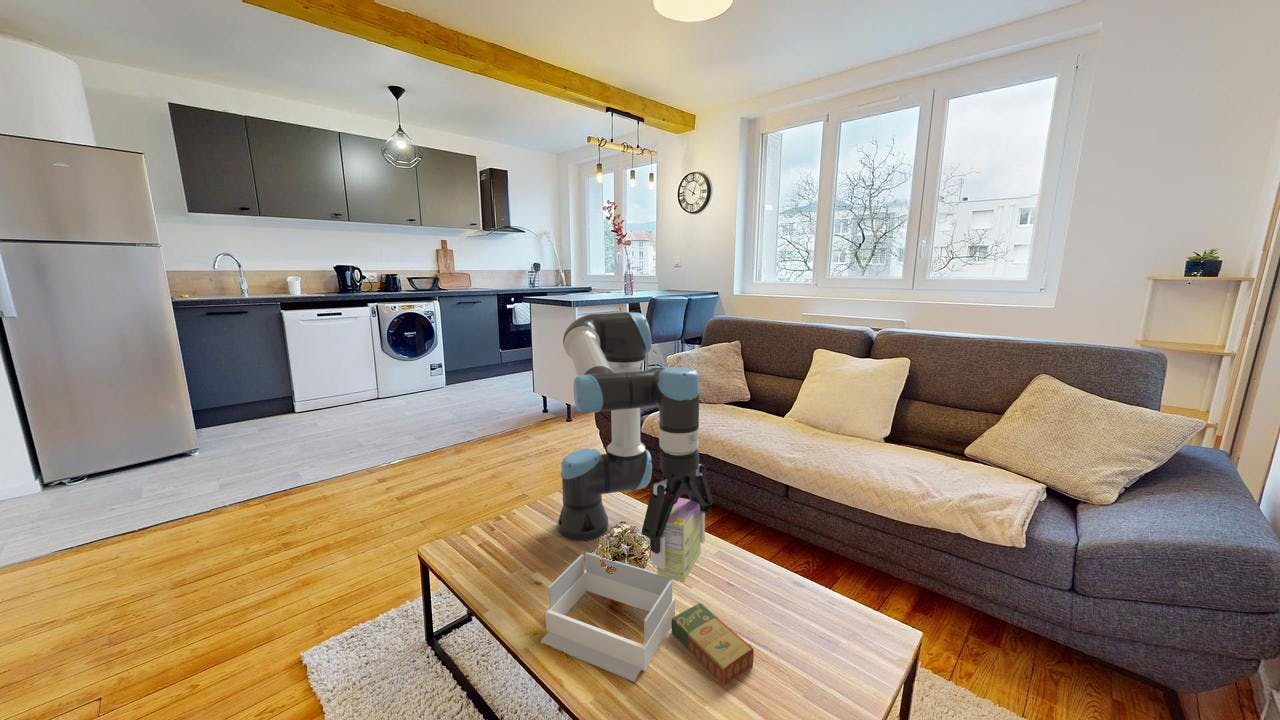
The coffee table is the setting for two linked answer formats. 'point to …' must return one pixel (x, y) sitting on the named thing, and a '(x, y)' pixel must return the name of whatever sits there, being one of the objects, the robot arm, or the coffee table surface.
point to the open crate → (619, 586)
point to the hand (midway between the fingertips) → (679, 552)
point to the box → (681, 540)
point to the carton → (712, 643)
